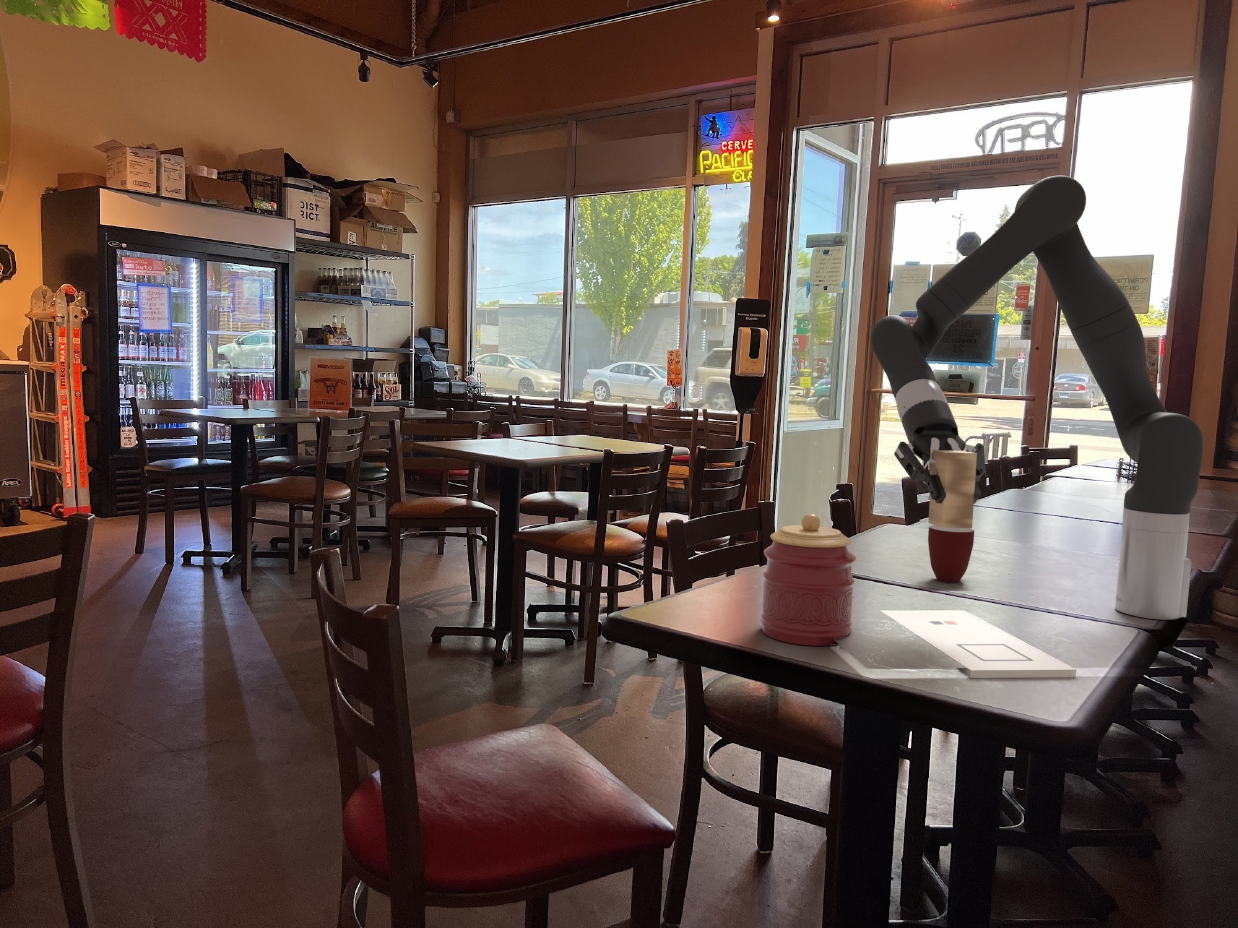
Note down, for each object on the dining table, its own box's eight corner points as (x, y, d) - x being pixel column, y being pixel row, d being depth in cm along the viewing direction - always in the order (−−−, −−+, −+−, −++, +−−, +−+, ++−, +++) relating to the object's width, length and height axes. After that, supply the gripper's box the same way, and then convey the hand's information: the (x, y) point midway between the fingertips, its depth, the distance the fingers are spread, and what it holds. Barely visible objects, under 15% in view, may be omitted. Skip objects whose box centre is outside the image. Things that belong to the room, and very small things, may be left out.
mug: (936, 571, 168) (939, 522, 167) (979, 578, 164) (982, 527, 163) (919, 580, 160) (923, 528, 159) (964, 587, 155) (967, 533, 154)
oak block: (956, 522, 128) (961, 450, 127) (972, 528, 124) (976, 453, 123) (928, 522, 128) (932, 450, 127) (942, 527, 123) (947, 452, 122)
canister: (775, 616, 132) (780, 504, 130) (860, 630, 126) (866, 512, 124) (748, 637, 120) (753, 515, 118) (839, 653, 114) (846, 524, 113)
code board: (963, 616, 135) (964, 610, 135) (1075, 677, 107) (1076, 669, 107) (879, 616, 133) (879, 610, 133) (970, 678, 106) (971, 670, 106)
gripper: (889, 397, 131) (920, 484, 120) (977, 399, 132) (1016, 485, 121) (874, 429, 136) (902, 515, 126) (958, 431, 138) (993, 516, 127)
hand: (958, 499), depth 123 cm, fingers closed on oak block, 4 cm apart
